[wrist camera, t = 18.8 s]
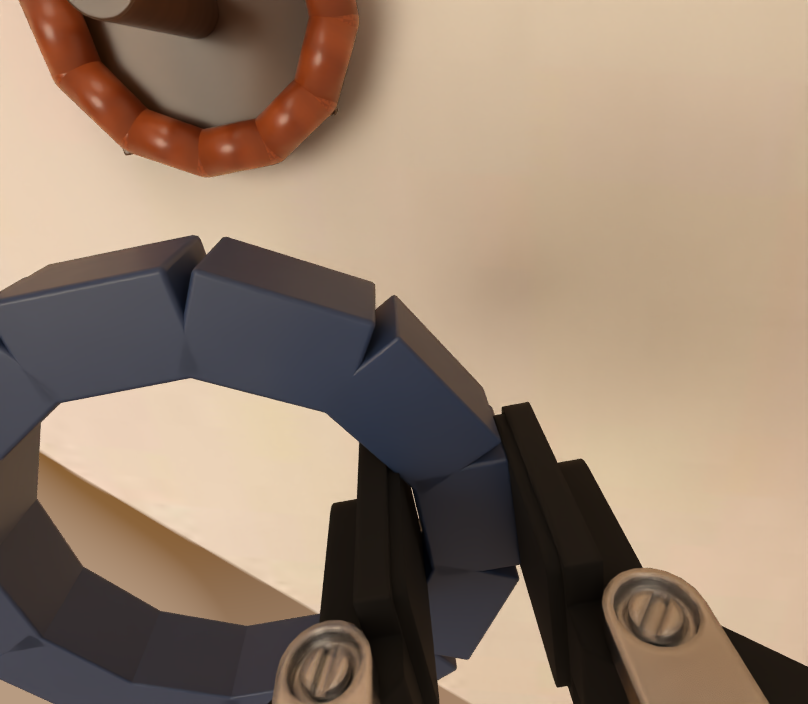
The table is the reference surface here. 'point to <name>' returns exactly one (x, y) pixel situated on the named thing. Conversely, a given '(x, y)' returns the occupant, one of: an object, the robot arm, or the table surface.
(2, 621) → the navy ring
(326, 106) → the rust ring
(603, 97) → the table surface
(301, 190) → the table surface
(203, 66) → the ring stacking peg stand
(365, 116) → the table surface
